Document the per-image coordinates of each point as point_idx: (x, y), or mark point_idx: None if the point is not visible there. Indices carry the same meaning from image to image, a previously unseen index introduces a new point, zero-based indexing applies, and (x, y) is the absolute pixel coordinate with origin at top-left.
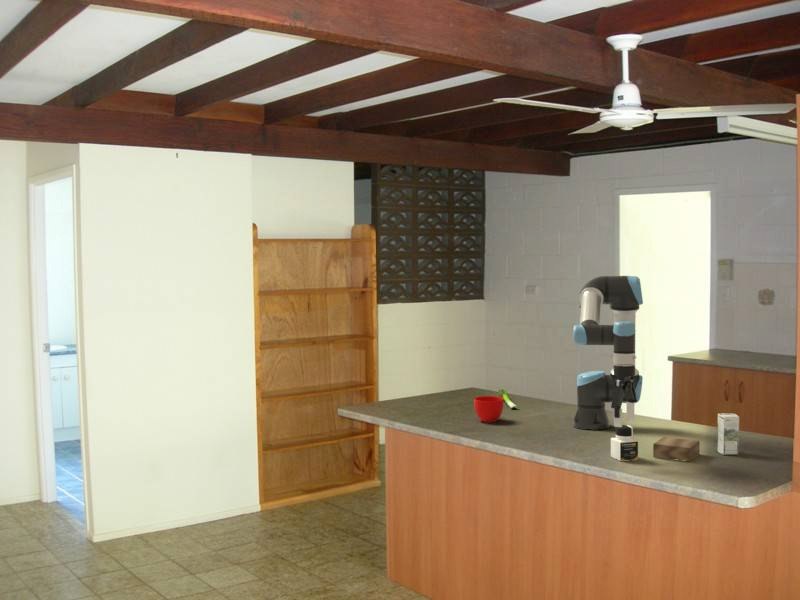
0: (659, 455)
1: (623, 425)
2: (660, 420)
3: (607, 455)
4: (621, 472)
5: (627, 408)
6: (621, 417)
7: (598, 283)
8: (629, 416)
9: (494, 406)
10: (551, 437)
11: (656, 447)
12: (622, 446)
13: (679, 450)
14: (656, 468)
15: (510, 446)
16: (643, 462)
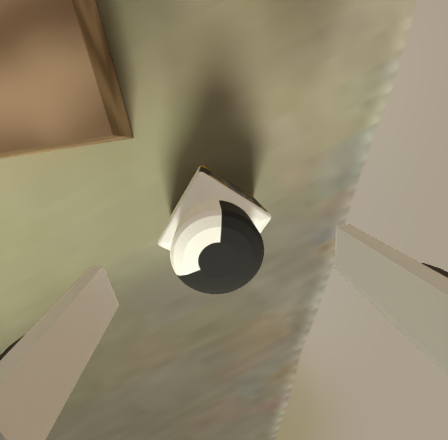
0: (122, 111)
1: (214, 267)
2: None
3: None
4: (371, 132)
5: (72, 379)
6: (397, 255)
7: None
8: (100, 308)
9: None
10: (139, 428)
11: (114, 120)
12: (261, 206)
13: None
14: (267, 52)
15: (268, 427)
16: (217, 134)
